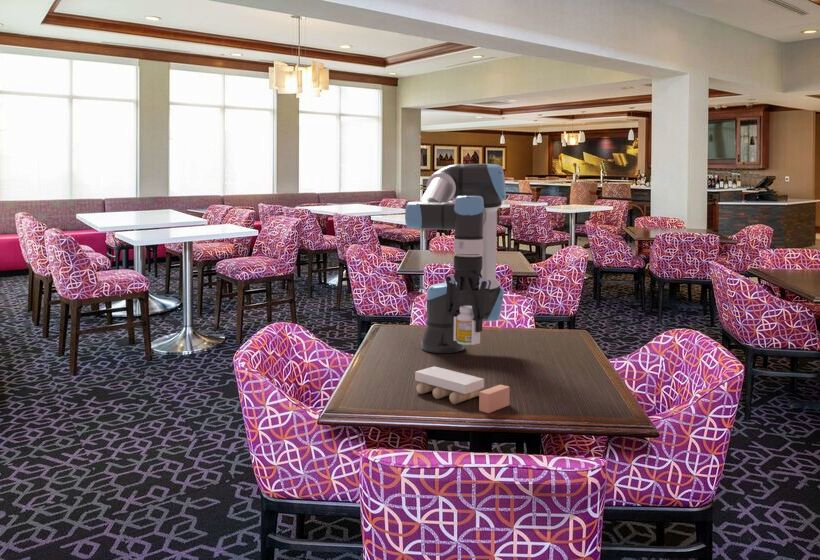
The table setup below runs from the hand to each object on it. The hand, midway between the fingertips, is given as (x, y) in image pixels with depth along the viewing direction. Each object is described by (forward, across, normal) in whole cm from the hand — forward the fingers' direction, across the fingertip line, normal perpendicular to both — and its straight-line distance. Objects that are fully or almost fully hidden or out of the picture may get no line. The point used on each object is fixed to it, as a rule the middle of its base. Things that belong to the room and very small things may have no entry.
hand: (466, 341), depth 182 cm
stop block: (+16, +10, 0) cm, 19 cm away
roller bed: (+16, -6, 0) cm, 17 cm away
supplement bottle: (+1, 0, 0) cm, 1 cm away
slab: (+13, -6, 0) cm, 14 cm away
